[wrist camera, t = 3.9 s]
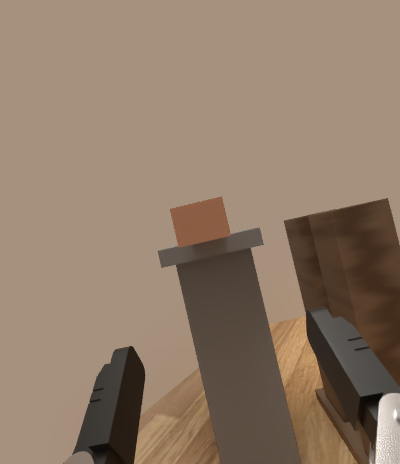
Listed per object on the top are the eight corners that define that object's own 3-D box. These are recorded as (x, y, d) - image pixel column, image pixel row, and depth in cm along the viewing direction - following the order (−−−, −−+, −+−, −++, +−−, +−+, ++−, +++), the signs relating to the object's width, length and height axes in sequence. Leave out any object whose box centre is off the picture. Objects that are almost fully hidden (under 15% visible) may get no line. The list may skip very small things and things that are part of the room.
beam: (230, 235, 18) (221, 196, 18) (178, 247, 19) (170, 209, 19) (221, 235, 44) (217, 218, 44) (199, 240, 45) (195, 223, 45)
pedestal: (220, 527, 28) (157, 251, 29) (218, 421, 44) (177, 245, 45) (326, 509, 27) (259, 227, 28) (285, 408, 43) (243, 230, 44)
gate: (410, 546, 23) (328, 212, 24) (317, 398, 44) (275, 222, 45) (499, 532, 23) (413, 192, 23) (362, 389, 44) (319, 212, 44)
